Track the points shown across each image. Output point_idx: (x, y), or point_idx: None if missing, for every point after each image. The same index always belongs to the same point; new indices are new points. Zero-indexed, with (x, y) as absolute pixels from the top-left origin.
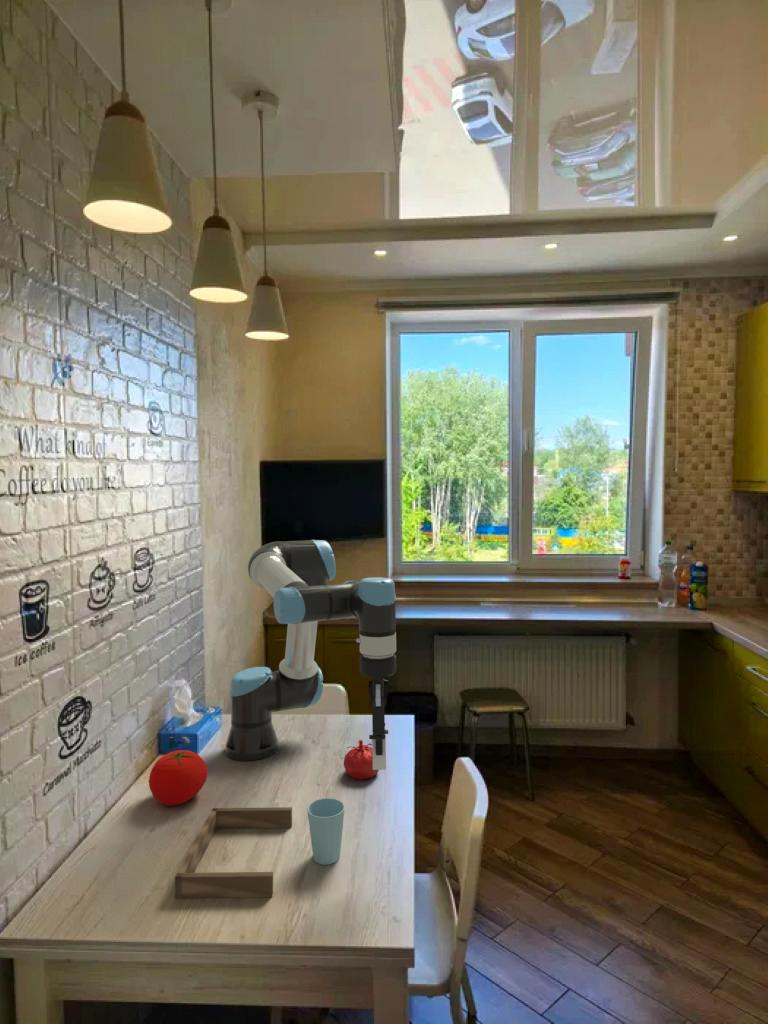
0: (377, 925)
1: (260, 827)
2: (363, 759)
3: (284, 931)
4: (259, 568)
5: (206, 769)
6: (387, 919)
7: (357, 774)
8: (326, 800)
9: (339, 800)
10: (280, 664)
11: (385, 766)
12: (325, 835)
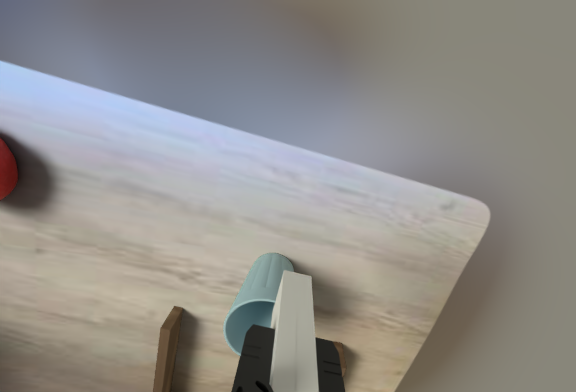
0: (448, 233)
1: (176, 346)
2: None
3: (409, 335)
4: None
5: None
6: (442, 217)
7: (11, 182)
8: (227, 323)
9: (240, 305)
10: None
11: (310, 284)
12: None
